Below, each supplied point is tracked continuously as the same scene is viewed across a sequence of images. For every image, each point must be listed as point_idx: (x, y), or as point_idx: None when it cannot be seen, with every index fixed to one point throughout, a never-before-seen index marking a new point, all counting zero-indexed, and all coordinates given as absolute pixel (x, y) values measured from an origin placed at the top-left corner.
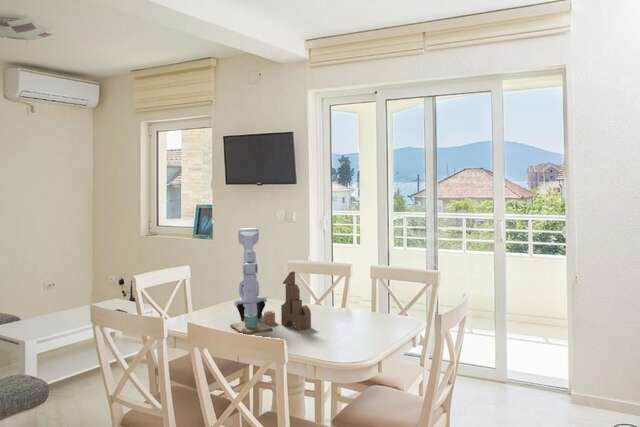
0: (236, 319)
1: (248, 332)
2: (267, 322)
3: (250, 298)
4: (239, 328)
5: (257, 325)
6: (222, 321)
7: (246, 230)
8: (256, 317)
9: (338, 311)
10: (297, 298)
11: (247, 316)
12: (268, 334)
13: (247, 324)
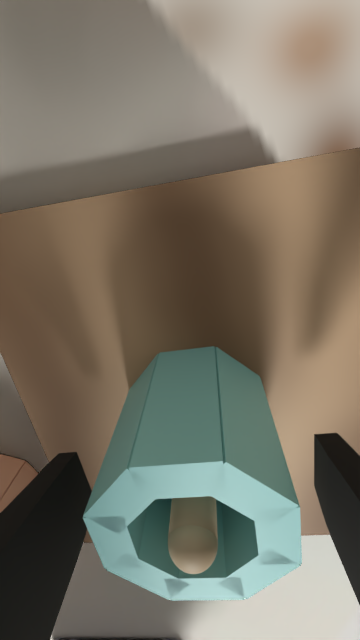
0: (243, 632)
1: (298, 161)
2: (13, 474)
3: None
4: (355, 365)
5: (122, 405)
6: (355, 630)
7: None
8: (106, 466)
9: None
10: None
11: (279, 492)
12: (18, 6)
13: (256, 392)
